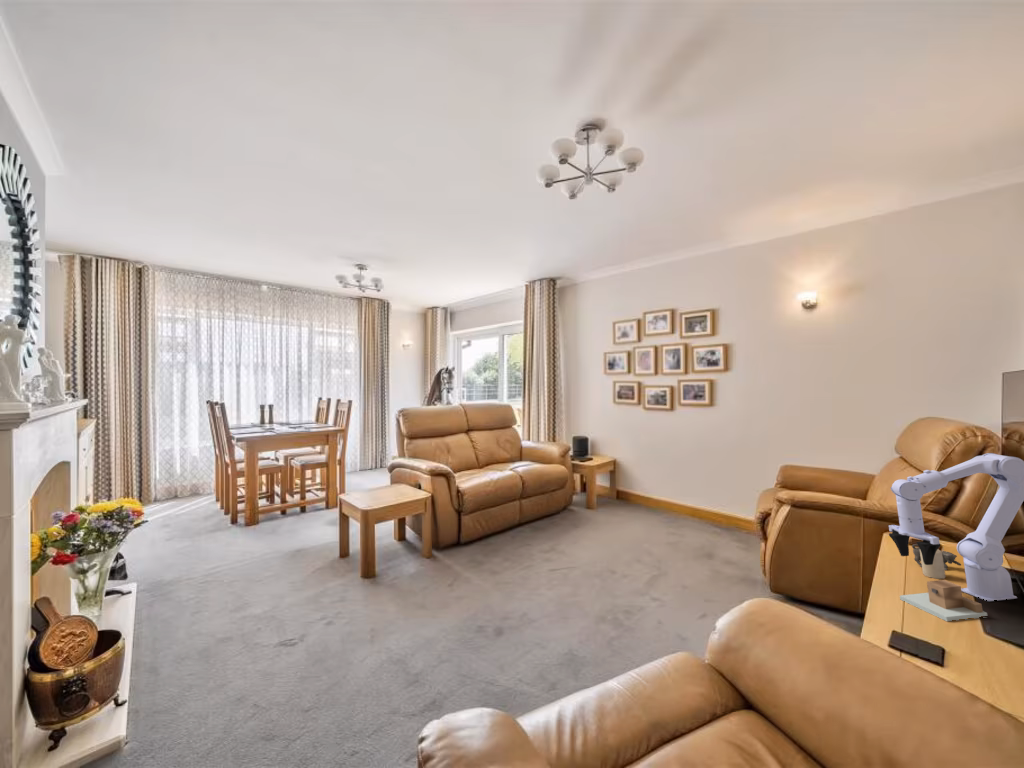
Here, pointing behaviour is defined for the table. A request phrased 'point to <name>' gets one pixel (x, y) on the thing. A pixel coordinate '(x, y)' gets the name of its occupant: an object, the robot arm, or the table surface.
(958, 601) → the cabinet block
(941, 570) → the candle
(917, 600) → the wall board
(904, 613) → the table surface
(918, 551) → the dog figurine
